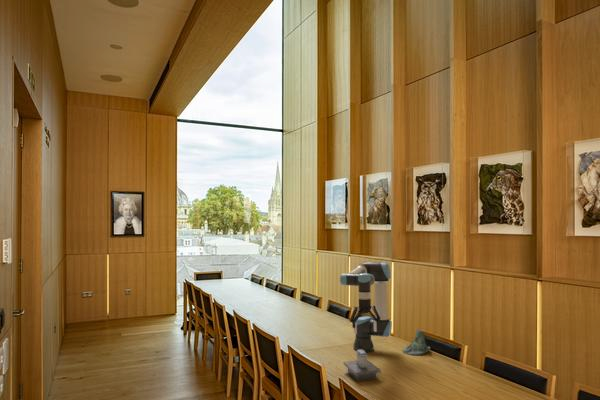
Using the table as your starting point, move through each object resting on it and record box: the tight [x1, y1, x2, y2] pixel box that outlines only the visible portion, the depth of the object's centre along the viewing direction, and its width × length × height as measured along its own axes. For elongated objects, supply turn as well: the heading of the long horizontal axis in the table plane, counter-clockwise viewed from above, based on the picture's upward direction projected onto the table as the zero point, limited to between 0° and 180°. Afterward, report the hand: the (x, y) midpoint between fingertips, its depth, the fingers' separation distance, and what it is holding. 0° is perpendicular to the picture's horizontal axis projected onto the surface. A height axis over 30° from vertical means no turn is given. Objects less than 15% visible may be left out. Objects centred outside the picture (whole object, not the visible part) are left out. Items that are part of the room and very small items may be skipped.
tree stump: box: [402, 329, 431, 356], centre depth 307 cm, size 18×20×18 cm
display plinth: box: [343, 359, 382, 382], centre depth 259 cm, size 20×16×6 cm
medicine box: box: [356, 350, 368, 368], centre depth 260 cm, size 8×4×9 cm, turn 7°
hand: (365, 332), depth 264 cm, fingers open, 13 cm apart
